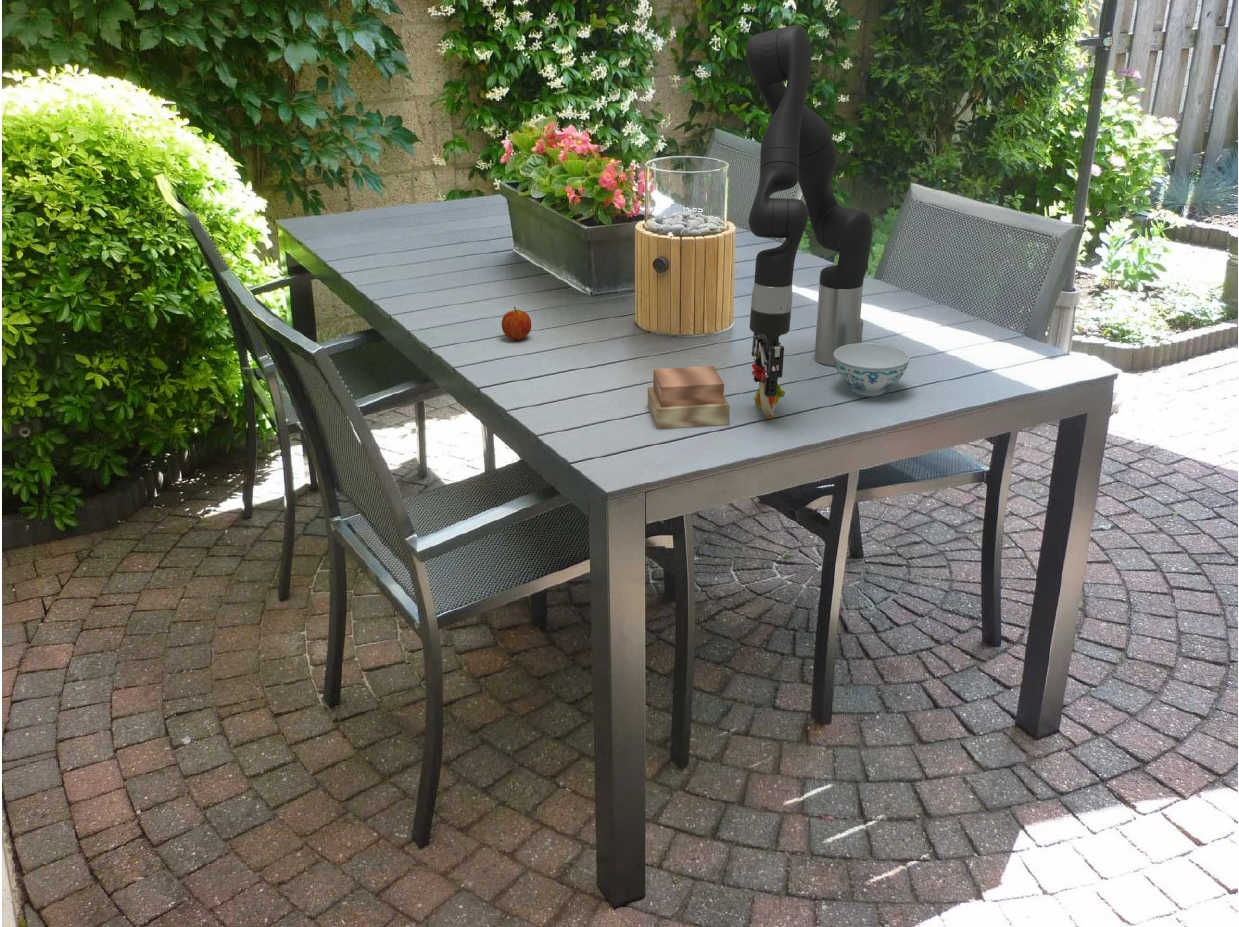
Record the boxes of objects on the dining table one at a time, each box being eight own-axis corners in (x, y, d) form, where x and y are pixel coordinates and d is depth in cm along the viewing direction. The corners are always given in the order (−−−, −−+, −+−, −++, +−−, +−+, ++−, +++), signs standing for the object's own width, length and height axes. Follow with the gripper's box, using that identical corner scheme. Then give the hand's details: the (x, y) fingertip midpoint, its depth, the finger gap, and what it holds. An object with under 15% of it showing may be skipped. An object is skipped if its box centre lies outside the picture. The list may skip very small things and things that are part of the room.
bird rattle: (787, 425, 216) (785, 386, 221) (784, 394, 207) (782, 354, 211) (754, 427, 217) (753, 388, 222) (750, 396, 208) (749, 356, 212)
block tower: (716, 401, 224) (717, 363, 220) (729, 424, 213) (730, 385, 210) (647, 405, 222) (647, 367, 219) (657, 428, 212) (657, 389, 208)
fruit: (520, 332, 266) (519, 300, 262) (537, 339, 261) (536, 306, 257) (496, 338, 262) (494, 305, 258) (513, 345, 257) (511, 312, 253)
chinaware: (879, 373, 237) (882, 339, 234) (920, 397, 224) (924, 361, 221) (817, 383, 232) (819, 348, 229) (856, 408, 220) (859, 371, 216)
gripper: (801, 316, 202) (793, 400, 208) (781, 296, 215) (774, 376, 221) (760, 317, 201) (754, 401, 207) (743, 296, 214) (737, 377, 220)
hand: (764, 388), depth 214 cm, fingers open, 8 cm apart
